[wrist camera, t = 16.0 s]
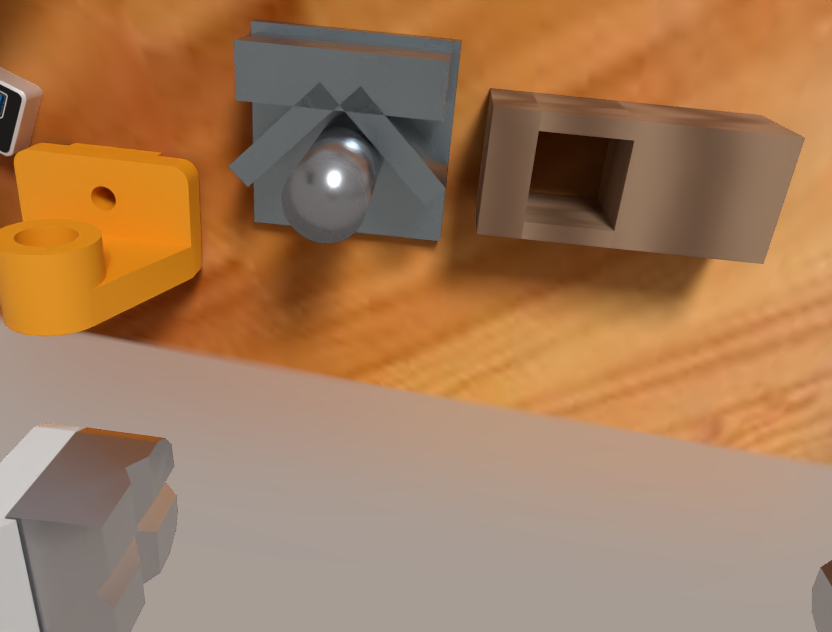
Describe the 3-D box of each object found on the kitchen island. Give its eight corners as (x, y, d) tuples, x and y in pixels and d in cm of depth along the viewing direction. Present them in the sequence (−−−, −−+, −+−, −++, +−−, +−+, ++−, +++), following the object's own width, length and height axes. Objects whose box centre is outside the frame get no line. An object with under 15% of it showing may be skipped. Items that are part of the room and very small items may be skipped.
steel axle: (388, 116, 42) (369, 166, 32) (383, 181, 44) (363, 247, 34) (321, 109, 42) (281, 156, 32) (319, 174, 44) (281, 238, 34)
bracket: (202, 157, 45) (119, 217, 34) (206, 262, 48) (131, 347, 38) (35, 138, 45) (-99, 192, 35) (50, 244, 49) (-68, 323, 38)
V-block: (461, 40, 41) (460, 51, 36) (440, 235, 46) (436, 271, 41) (255, 19, 41) (223, 28, 36) (258, 216, 47) (231, 249, 41)
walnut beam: (761, 115, 42) (804, 137, 36) (727, 227, 45) (763, 263, 40) (490, 88, 42) (493, 106, 37) (475, 202, 45) (476, 234, 40)
